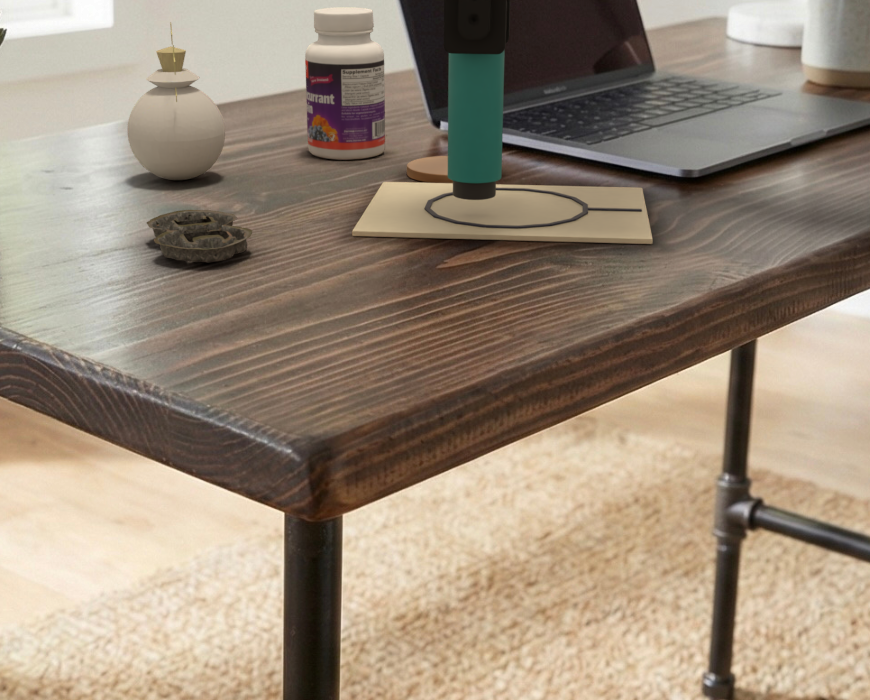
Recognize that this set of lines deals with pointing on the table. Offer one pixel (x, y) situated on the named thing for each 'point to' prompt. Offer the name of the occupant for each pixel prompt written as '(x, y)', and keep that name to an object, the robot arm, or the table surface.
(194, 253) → the corroded twin loop
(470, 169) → the cylinder
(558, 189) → the yellow board
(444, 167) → the coaster
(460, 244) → the table surface
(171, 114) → the ornament
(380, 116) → the pill bottle
